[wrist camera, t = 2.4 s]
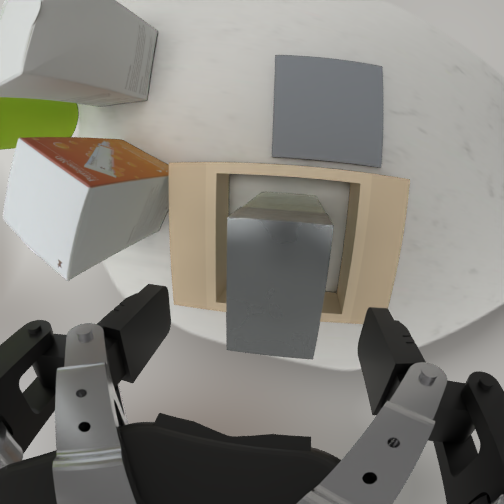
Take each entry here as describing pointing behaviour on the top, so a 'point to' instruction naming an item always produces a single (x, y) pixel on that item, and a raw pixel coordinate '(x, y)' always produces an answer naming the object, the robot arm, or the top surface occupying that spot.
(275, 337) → the tea tin
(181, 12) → the top surface
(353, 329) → the top surface
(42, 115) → the soap dispenser
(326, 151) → the mat
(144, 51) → the skincare box
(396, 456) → the robot arm
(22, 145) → the small box
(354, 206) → the wooden rectangular frame
